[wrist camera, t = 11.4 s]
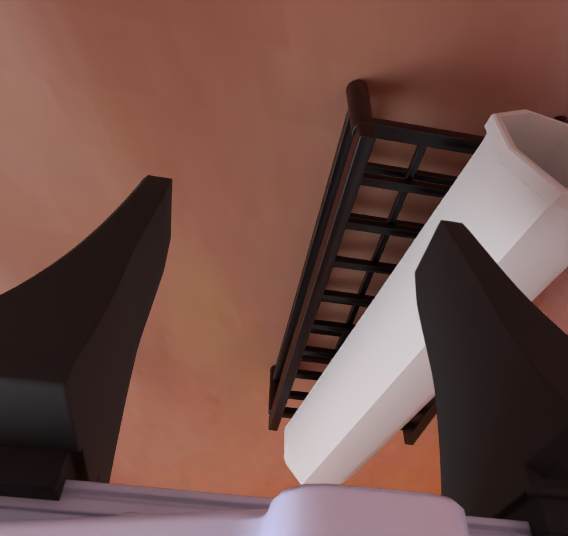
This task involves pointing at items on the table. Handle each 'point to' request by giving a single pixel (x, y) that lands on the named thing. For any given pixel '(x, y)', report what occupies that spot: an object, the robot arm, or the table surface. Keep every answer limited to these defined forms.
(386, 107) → the table surface
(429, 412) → the shoe rack
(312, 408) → the tube
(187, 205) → the table surface
